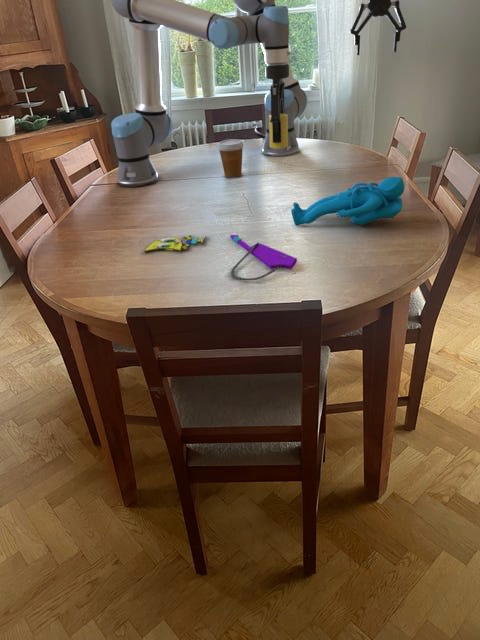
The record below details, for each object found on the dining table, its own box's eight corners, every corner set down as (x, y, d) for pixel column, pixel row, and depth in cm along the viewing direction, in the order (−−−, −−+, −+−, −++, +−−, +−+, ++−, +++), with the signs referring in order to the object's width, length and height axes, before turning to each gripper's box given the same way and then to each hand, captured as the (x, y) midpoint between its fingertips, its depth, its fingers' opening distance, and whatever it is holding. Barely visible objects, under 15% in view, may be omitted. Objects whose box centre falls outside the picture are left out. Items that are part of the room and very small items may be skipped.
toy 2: (294, 191, 141) (400, 164, 130) (303, 224, 146) (406, 201, 135) (286, 212, 127) (404, 184, 117) (296, 248, 132) (410, 224, 122)
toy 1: (199, 248, 125) (143, 249, 127) (199, 251, 125) (144, 252, 127) (206, 233, 133) (154, 234, 135) (206, 236, 133) (154, 237, 136)
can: (277, 149, 162) (276, 118, 157) (266, 146, 166) (265, 115, 161) (291, 145, 165) (291, 115, 159) (280, 143, 169) (279, 112, 164)
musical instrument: (273, 292, 106) (311, 246, 118) (271, 284, 105) (310, 238, 117) (189, 277, 119) (231, 237, 131) (186, 270, 118) (230, 230, 130)
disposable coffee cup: (216, 178, 179) (213, 145, 172) (226, 170, 186) (223, 138, 180) (240, 179, 176) (237, 145, 169) (249, 171, 183) (247, 139, 176)
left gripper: (284, 67, 143) (285, 146, 156) (293, 60, 159) (293, 133, 171) (259, 68, 145) (262, 147, 158) (270, 61, 160) (272, 133, 173)
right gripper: (346, -12, 169) (343, 56, 181) (419, -19, 167) (412, 51, 178) (343, -11, 176) (341, 55, 187) (414, -18, 173) (407, 49, 184)
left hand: (278, 139), depth 164 cm, fingers closed on can, 6 cm apart
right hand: (376, 53), depth 183 cm, fingers open, 13 cm apart
